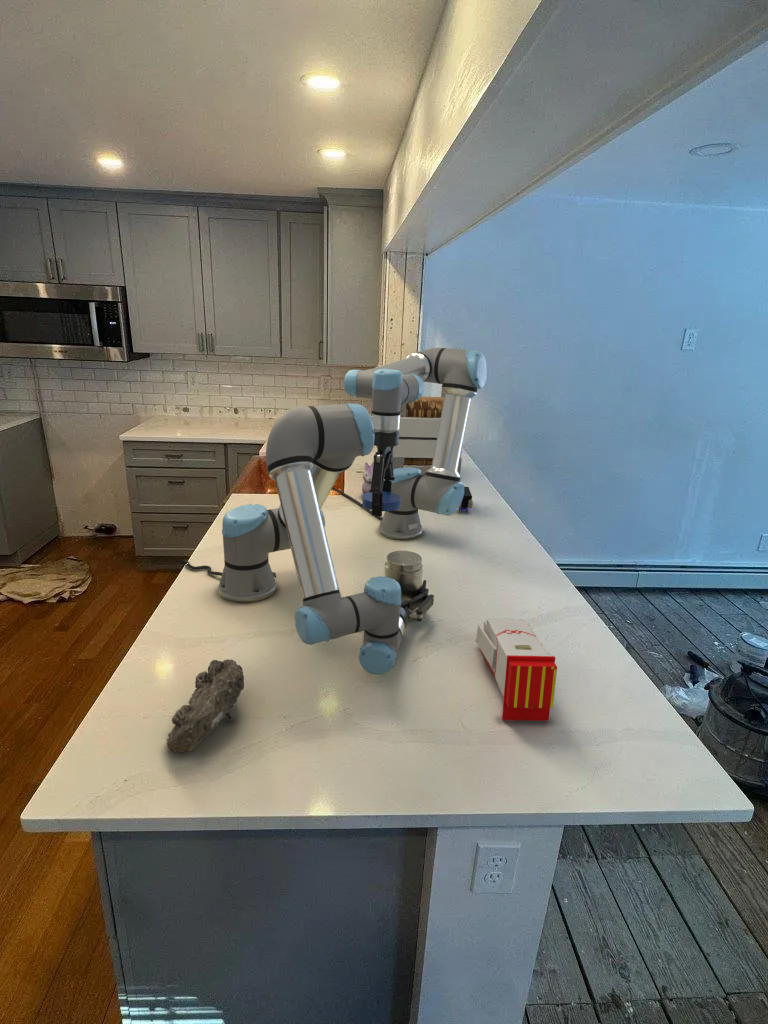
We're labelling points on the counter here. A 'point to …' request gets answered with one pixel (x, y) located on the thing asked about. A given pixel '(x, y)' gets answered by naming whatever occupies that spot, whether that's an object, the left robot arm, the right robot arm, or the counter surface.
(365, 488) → the figurine
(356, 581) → the counter surface
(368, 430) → the left robot arm
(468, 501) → the figurine character
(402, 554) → the jar
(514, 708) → the toy
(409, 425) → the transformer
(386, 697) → the counter surface
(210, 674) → the fossil
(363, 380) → the right robot arm
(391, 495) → the lid
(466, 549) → the counter surface
